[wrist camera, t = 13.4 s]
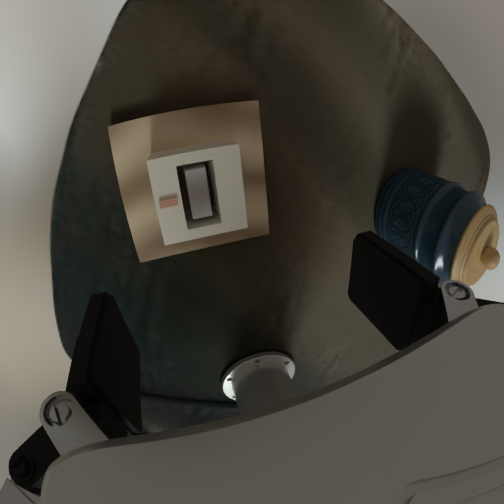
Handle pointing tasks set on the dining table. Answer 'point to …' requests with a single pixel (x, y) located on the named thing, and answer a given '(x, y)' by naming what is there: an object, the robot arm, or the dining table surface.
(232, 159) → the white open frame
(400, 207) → the canister
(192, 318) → the dining table surface
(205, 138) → the base
